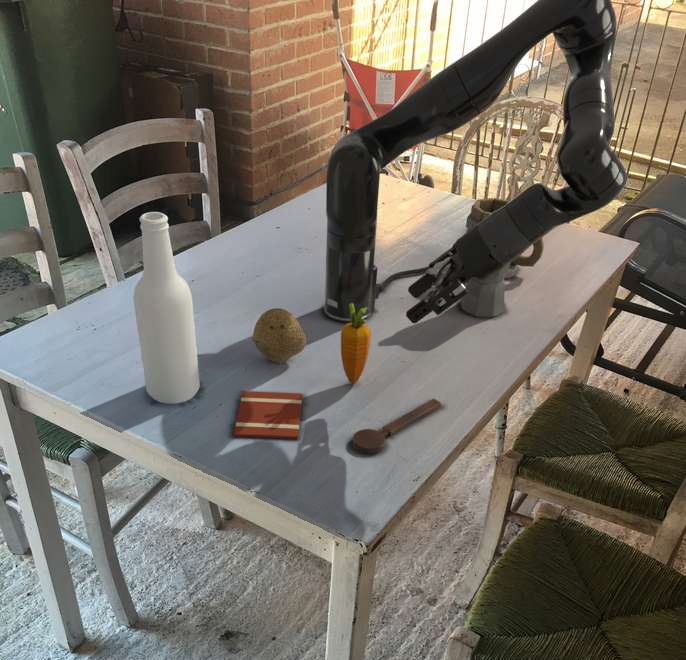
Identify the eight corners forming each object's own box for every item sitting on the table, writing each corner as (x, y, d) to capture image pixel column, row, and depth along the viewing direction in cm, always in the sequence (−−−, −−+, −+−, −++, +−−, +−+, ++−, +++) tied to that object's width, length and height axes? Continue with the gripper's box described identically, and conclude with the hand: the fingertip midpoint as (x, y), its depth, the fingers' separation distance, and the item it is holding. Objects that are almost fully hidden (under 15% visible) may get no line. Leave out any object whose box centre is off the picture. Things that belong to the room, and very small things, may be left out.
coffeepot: (498, 293, 161) (514, 210, 150) (521, 313, 154) (539, 228, 143) (433, 302, 157) (444, 217, 146) (453, 323, 150) (466, 236, 139)
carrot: (337, 376, 133) (341, 298, 124) (365, 376, 134) (371, 298, 124) (339, 392, 129) (343, 313, 120) (368, 391, 130) (374, 313, 120)
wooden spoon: (425, 398, 129) (426, 393, 128) (448, 411, 126) (449, 406, 126) (346, 443, 118) (346, 437, 118) (368, 458, 116) (369, 452, 115)
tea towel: (302, 395, 128) (302, 393, 128) (297, 438, 119) (297, 436, 118) (243, 393, 128) (242, 390, 128) (233, 436, 119) (233, 433, 118)
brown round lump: (243, 355, 137) (241, 305, 131) (284, 342, 142) (284, 293, 135) (270, 378, 132) (269, 327, 126) (312, 364, 136) (313, 314, 130)
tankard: (452, 272, 168) (461, 206, 159) (466, 251, 177) (476, 187, 168) (541, 291, 163) (557, 223, 153) (552, 268, 172) (567, 203, 163)
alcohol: (140, 403, 124) (114, 226, 106) (153, 374, 131) (131, 203, 112) (194, 407, 124) (177, 230, 105) (204, 378, 131) (190, 207, 112)
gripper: (477, 207, 118) (397, 270, 125) (481, 244, 106) (392, 310, 114) (505, 242, 121) (425, 302, 128) (512, 282, 109) (424, 344, 117)
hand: (410, 305), depth 121 cm, fingers open, 8 cm apart
